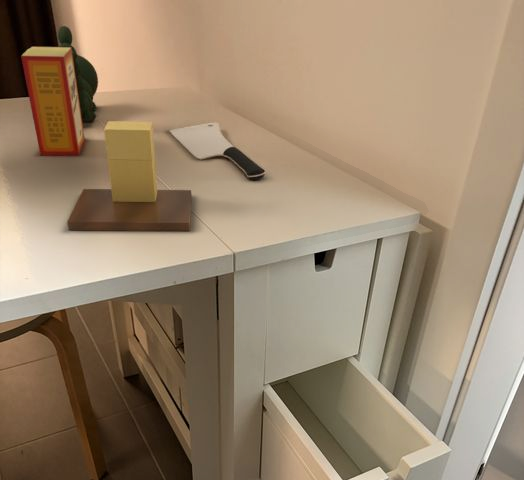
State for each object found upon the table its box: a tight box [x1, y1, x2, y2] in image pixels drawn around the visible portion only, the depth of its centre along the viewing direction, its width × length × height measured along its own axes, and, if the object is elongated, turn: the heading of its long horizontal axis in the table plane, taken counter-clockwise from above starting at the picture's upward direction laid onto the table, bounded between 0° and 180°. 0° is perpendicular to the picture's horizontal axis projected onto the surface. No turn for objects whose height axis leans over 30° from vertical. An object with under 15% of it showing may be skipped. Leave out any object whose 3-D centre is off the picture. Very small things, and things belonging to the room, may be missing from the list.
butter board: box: [66, 188, 192, 232], centre depth 79 cm, size 16×12×1 cm
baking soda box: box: [20, 46, 86, 156], centre depth 97 cm, size 10×6×16 cm
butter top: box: [103, 120, 155, 160], centre depth 76 cm, size 6×4×4 cm, turn 95°
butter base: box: [107, 151, 158, 202], centre depth 79 cm, size 6×4×6 cm, turn 94°
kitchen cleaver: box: [169, 122, 266, 181], centre depth 102 cm, size 31×2×10 cm
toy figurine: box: [57, 25, 99, 123], centre depth 114 cm, size 9×19×25 cm
